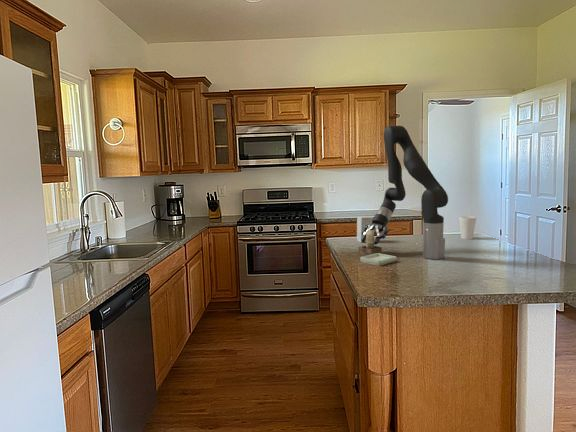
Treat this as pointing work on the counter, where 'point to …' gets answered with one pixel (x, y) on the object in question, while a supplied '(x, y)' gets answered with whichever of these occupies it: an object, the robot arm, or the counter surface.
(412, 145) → the robot arm
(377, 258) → the tray
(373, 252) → the box
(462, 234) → the foam cup
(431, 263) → the counter surface
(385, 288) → the counter surface
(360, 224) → the skincare box
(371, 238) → the dowel
